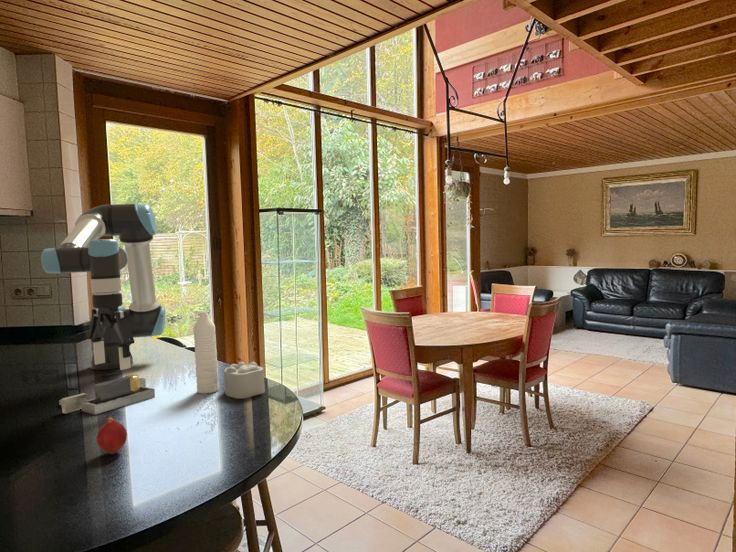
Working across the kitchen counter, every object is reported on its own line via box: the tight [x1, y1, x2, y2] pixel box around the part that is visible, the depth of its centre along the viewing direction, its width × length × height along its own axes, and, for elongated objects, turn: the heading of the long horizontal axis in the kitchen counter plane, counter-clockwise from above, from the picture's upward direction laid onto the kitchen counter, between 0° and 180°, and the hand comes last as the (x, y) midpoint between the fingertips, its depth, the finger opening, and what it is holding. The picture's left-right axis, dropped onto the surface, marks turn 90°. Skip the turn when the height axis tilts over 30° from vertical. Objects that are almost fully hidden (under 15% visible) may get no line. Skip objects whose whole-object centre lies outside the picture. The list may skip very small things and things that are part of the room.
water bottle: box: [193, 309, 220, 395], centre depth 151 cm, size 9×6×25 cm
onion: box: [96, 417, 128, 455], centre depth 105 cm, size 6×6×8 cm
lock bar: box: [94, 374, 140, 404], centre depth 141 cm, size 12×4×7 cm, turn 147°
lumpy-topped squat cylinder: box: [223, 361, 266, 400], centre depth 149 cm, size 10×13×9 cm
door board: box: [58, 377, 156, 416], centre depth 144 cm, size 24×19×4 cm
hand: (112, 366), depth 140 cm, fingers open, 13 cm apart
